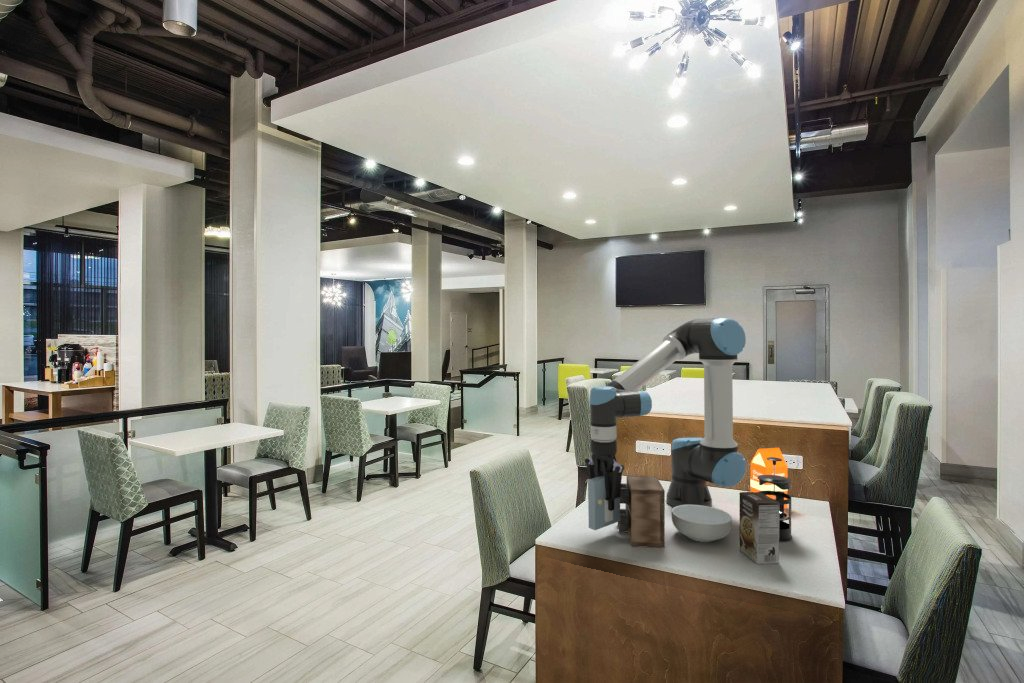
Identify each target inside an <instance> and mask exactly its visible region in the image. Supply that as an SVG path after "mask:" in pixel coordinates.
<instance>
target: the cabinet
mask: <svg viewBox="0 0 1024 683" xmlns="http://www.w3.org/2000/svg"><path fill="white" fill-rule="evenodd" d="M665 491H666V490H665V489H664V487H663V486H662V484H661V482H660V480H659V479H658V477H657V476H645V475H643V476H642V475H641V476H640V475H638V476H637V475H627V476H626V483H622V482H621V493H620V505H621V504H622V505H623V504H625V508H620V521H619V522H617V526H618V525H619V526H618V531H619V532H622V531H628V532H627V533H628V534H629V535H628V534H627V535H628V538H629V541H630V546H631V547H639V546H649V547H648V548H661V547H665V546H666V545H665V538H666V537H665V532H666V530H665V520H666V519H665V518H666V517H665V516H666V515H665V509H666V507H665V498H666V496H665V495H666V494H665Z"/></svg>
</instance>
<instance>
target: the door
mask: <svg viewBox="0 0 1024 683" xmlns="http://www.w3.org/2000/svg"><path fill="white" fill-rule="evenodd" d="M587 497H588V498H587V499H588V500H587V504H588V506H587V508H588V509H587V510H588V512H587V513H588V528H589V529H591V530H593V531H598V530H600V529H602V528H605V527H608V526H610V525H614V524H616V523H618V522H619V521H620V509H621V503H620V497H619V498H616V499H614V510H613V520H611V521H609V522H605V498H607V496H606V487H605V478H604V476H600V477H596V478H592V479H589V480H588V479H587Z"/></svg>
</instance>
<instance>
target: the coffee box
mask: <svg viewBox="0 0 1024 683" xmlns="http://www.w3.org/2000/svg"><path fill="white" fill-rule="evenodd" d="M738 494H739V531H738V532H739V533H738V534H739V539H738V540H739V548H738V549H739V550H740V552H741V553H743V554H744V555H745V556H747V557H748V558H749V560H752V561H753V562H754V563H755V564H757V565H764V564H765V565H766V564H767V565H768V564H780V557H779V556H780V542H779V517H780V503H779V502H777V501H776V500H774V499H772V498H770V497H768V496H767V495H765V494H763V493H761V492H751V491H744V492H743V491H741V492H739V493H738Z"/></svg>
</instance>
